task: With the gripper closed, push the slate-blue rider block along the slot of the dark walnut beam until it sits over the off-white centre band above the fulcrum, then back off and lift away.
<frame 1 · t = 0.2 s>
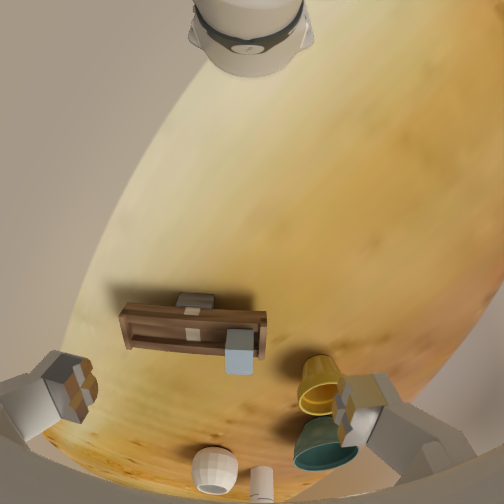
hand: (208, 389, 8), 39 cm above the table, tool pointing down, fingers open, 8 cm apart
cylindrical container: (261, 469, 77), on the table
flower pot: (320, 425, 67), on the table
rider: (240, 348, 44), point 10 cm above the table, slide at 8.0 cm
white vase: (216, 452, 73), on the table
beam: (198, 312, 53), on the table
plant pot: (317, 365, 58), on the table
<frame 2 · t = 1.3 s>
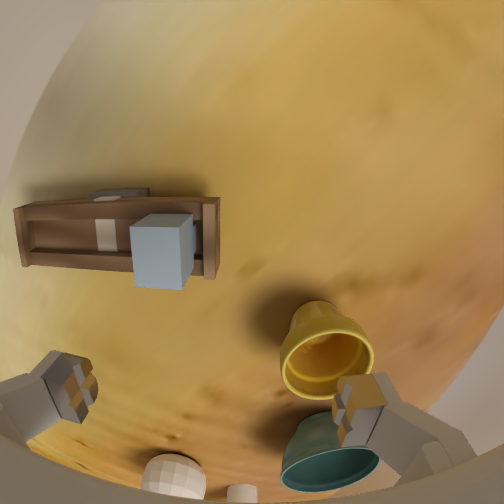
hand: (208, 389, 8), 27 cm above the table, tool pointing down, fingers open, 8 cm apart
cylindrical container: (242, 488, 55), on the table
flower pot: (321, 425, 46), on the table
rider: (167, 246, 25), point 10 cm above the table, slide at 8.0 cm
white vase: (178, 461, 51), on the table
beam: (127, 220, 34), on the table
plant pot: (314, 321, 39), on the table
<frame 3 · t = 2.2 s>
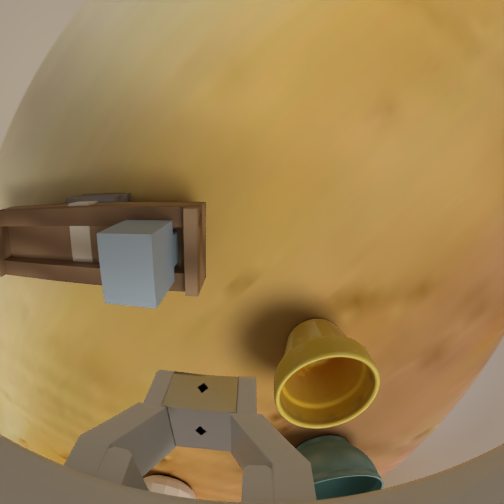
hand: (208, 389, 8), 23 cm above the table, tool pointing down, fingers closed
flower pot: (320, 449, 41), on the table
rider: (142, 256, 21), point 10 cm above the table, slide at 8.0 cm
white vase: (168, 483, 45), on the table
beam: (107, 229, 31), on the table
plant pot: (312, 341, 34), on the table
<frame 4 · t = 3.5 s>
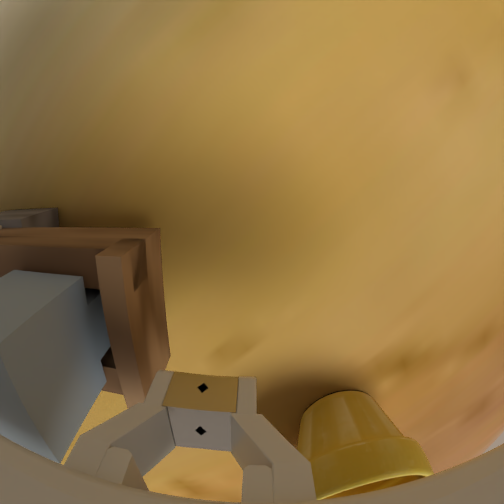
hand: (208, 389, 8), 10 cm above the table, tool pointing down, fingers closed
rider: (36, 347, 9), point 10 cm above the table, slide at 8.0 cm
beam: (35, 261, 18), on the table
plant pot: (336, 415, 22), on the table
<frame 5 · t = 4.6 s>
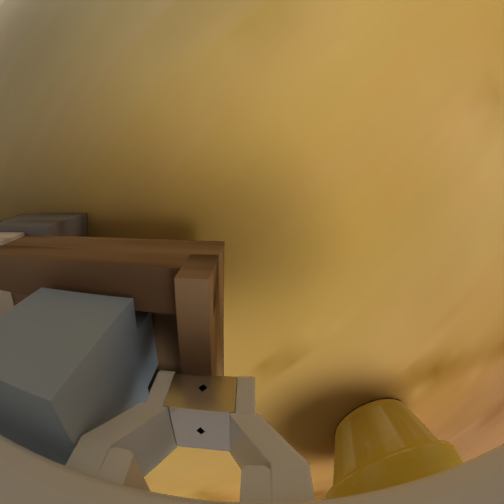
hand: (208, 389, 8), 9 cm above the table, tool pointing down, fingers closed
rider: (75, 379, 8), point 10 cm above the table, slide at 7.4 cm, touching gripper
beam: (58, 271, 17), on the table
plant pot: (369, 423, 21), on the table
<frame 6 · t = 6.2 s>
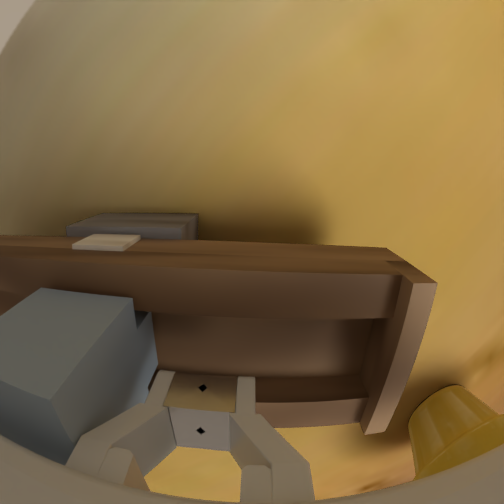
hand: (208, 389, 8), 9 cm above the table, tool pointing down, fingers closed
rider: (75, 379, 8), point 10 cm above the table, slide at 0.2 cm, touching gripper
beam: (150, 279, 17), on the table
plant pot: (435, 410, 21), on the table
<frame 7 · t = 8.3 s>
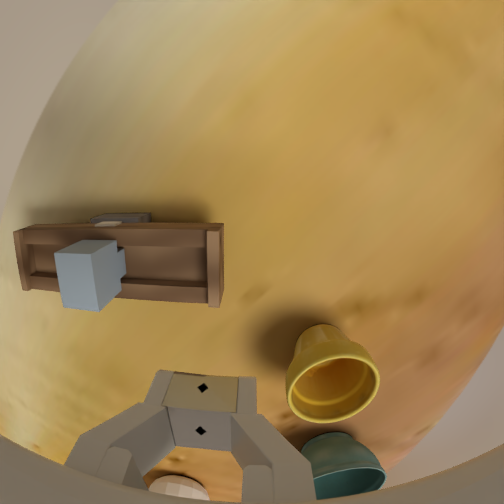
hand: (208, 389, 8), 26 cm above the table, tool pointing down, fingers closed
flower pot: (326, 446, 44), on the table
rider: (93, 270, 25), point 10 cm above the table, slide at 0.2 cm
white vase: (181, 483, 48), on the table
beam: (129, 245, 34), on the table
plant pot: (318, 345, 38), on the table
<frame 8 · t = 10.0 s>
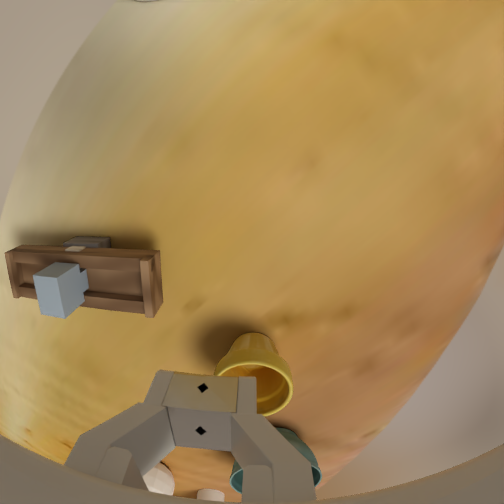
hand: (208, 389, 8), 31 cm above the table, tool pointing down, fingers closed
cylindrical container: (211, 493, 58), on the table
flower pot: (273, 439, 50), on the table
rider: (62, 286, 31), point 10 cm above the table, slide at 0.2 cm
white vase: (151, 465, 55), on the table
beam: (95, 262, 40), on the table
plant pot: (252, 349, 44), on the table
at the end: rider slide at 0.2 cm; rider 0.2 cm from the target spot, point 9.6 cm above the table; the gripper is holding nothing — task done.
